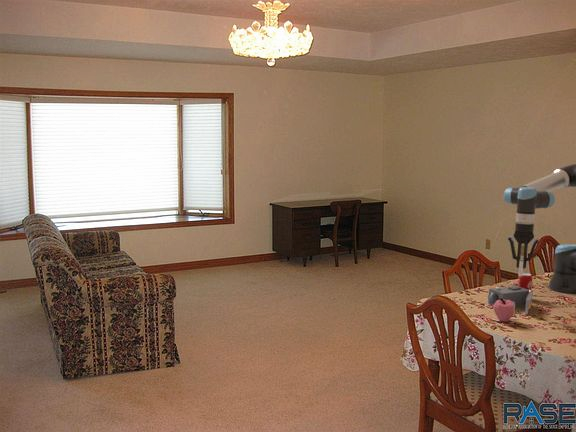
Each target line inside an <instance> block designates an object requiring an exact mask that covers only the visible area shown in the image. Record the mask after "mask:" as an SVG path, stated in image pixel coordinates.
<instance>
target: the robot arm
mask: <svg viewBox="0 0 576 432" xmlns="http://www.w3.org/2000/svg"><path fill="white" fill-rule="evenodd" d="M565 188H576V163H573V164H570V165H569V164H568V165H566V166H564V167H560V168H558V169H555V170H553V172H552V173H551V174H548V175H546V176H544V177H543V176H542V177H541V178H538V179H536V180H533V181H531V182H529V183H526V184H524V185H522V186H519V187H507V188H506V189H505V190H504V192H503V200H504V202H505V203H507V204H510V205H516V213H515V214H516V215H515V222H516V223H515V225H514V226H515V228H514V233H513V235H511V236H508V238H507V240H508V242H509V244H510V250H511V256H512V259H513V260H515V261H516V268H517V269H518V275H517V277H518V276H522V275H523V273H524V269H526V268H527V262H529V261H531V260H532V257H533V254H534V252H535V249H536V246H537V244H538V243H539V242H540V239H537V238H536V237H535V235H534V226H535V224H534V223H535V216H536V209H547V208H551V207H553V206H554V204H555V203H556V202H555V201H556V197H555V195H554V193H552V192H553V191H555V190H557V189H565ZM515 241H516V242H517V254H516V248H515ZM531 242H532V245H531V249H530V252H529V255H528V249H529V244H530V243H531ZM522 244H524V245H523V246H524V247H523V246H522ZM522 247H523V258H522V259H523V260H521V254H522ZM553 263H554V264H553V265H554V266H553V274H552V275H551V278H550V280H549V281H548V282H549V283H548V288H549V289H550V290H552V291H556V292H559V293H565V294H576V244H571V243H570V244H568V243H566V244H559V245H557V246H556V248H555V252H554V262H553Z"/></svg>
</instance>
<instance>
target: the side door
mask: <svg viewBox="0 0 576 432" xmlns="http://www.w3.org/2000/svg"><path fill="white" fill-rule="evenodd" d="M533 291H534V290H533V289H531V290H529V294H528V296H527V298H526V306H524V307H525V309H524V311H525V312H524V315H528V314H529V311H530V309H531V308H532V307H531V306H532V305H533V304H532V303H533V293H534V292H533Z"/></svg>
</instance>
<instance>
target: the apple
mask: <svg viewBox="0 0 576 432" xmlns="http://www.w3.org/2000/svg"><path fill="white" fill-rule="evenodd" d="M492 309H493V312H494V313H495V315H496V318H497V319H498V320H499V321H500V322H504V323H507V322H510V320H511V318H512V317H513V316H514V315H515V310H516V307H515V303H514V302H513V301H511V300H505V299H502V298H501V299H500V300H497V301H496V302H495V304H494V305H493V308H492Z"/></svg>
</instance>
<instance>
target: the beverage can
mask: <svg viewBox="0 0 576 432" xmlns="http://www.w3.org/2000/svg"><path fill="white" fill-rule="evenodd" d="M517 286H518V287H521V288H524V289H527V290H533V289H532V288H533V287H532V286H533V276H532V274H531V273H527V272H523V275H522V276H518V275H517Z"/></svg>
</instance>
